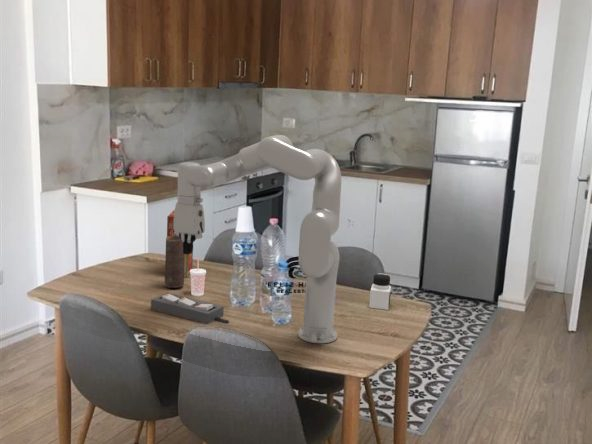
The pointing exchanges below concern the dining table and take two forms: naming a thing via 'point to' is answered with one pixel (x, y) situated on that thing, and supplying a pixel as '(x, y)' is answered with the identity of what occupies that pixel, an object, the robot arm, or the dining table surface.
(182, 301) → the rocker middle
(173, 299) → the rocker far
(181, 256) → the candle
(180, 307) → the power strip
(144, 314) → the dining table surface
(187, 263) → the food packaging
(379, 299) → the medicine bottle
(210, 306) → the rocker near
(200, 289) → the beverage cup
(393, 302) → the dining table surface
